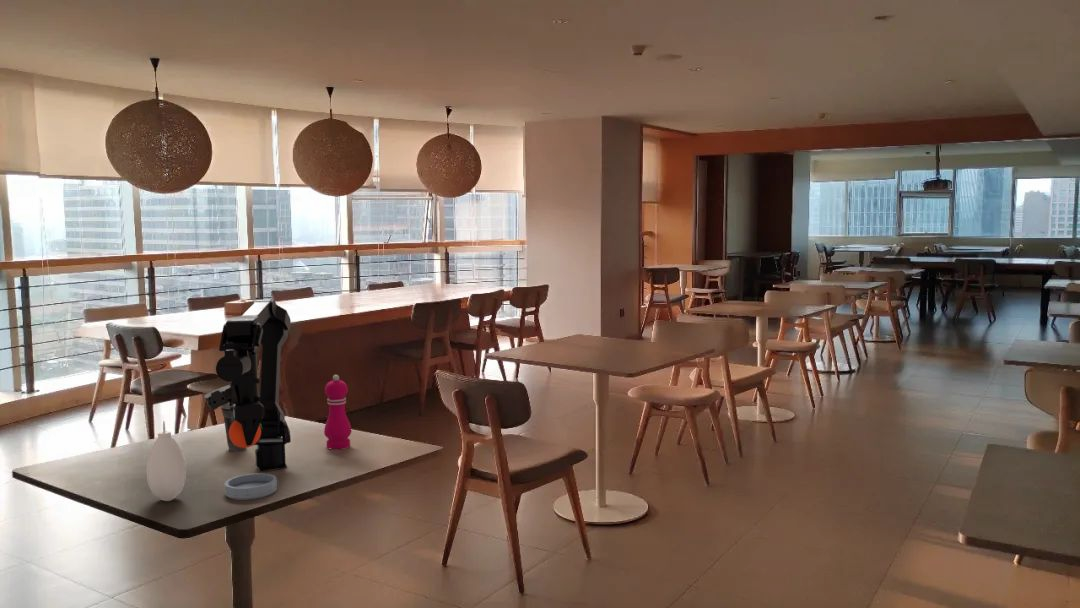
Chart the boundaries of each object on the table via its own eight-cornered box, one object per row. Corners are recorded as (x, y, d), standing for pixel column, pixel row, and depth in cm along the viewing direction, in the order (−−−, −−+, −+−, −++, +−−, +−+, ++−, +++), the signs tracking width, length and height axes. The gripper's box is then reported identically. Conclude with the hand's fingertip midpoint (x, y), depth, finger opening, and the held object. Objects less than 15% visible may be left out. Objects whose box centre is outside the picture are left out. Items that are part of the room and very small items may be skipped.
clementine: (271, 444, 188) (270, 413, 188) (255, 452, 182) (253, 420, 181) (240, 442, 190) (239, 412, 190) (223, 450, 183) (221, 419, 183)
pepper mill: (339, 441, 229) (337, 371, 227) (357, 445, 225) (355, 373, 223) (319, 447, 224) (316, 375, 222) (336, 451, 219) (334, 378, 217)
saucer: (273, 481, 194) (272, 470, 194) (280, 495, 185) (279, 483, 184) (223, 488, 190) (223, 477, 189) (228, 502, 180) (227, 491, 180)
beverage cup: (257, 447, 224) (254, 375, 222) (234, 453, 218) (231, 380, 216) (240, 443, 228) (236, 373, 226) (217, 450, 222) (213, 377, 220)
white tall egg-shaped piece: (141, 502, 181) (136, 422, 179) (173, 492, 188) (168, 414, 186) (162, 508, 177) (158, 426, 175) (194, 497, 183) (190, 418, 182)
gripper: (203, 370, 190) (206, 436, 191) (208, 383, 173) (211, 456, 174) (254, 366, 195) (257, 431, 196) (263, 379, 178) (266, 449, 179)
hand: (247, 441), depth 186 cm, fingers closed on clementine, 7 cm apart
